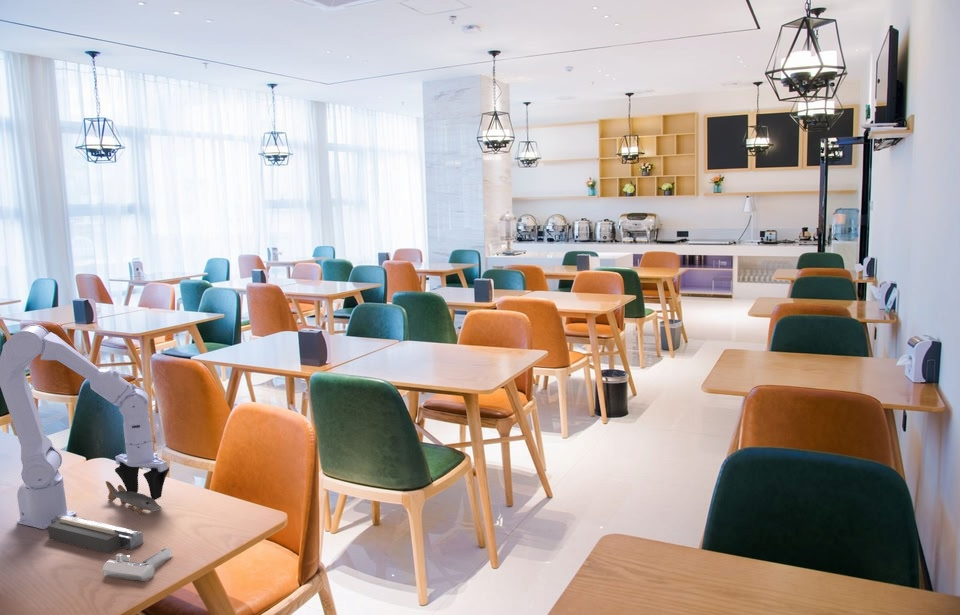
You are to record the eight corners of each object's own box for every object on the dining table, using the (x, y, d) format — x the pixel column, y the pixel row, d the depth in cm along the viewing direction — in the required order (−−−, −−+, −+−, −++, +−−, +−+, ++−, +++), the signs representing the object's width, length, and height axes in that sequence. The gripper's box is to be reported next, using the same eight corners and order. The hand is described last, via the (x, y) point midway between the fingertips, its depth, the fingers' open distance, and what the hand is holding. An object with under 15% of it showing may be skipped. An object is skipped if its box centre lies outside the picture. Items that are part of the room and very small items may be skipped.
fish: (152, 522, 155) (150, 501, 155) (98, 503, 166) (96, 483, 165) (170, 514, 159) (167, 493, 158) (116, 496, 170) (114, 477, 169)
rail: (52, 530, 152) (50, 517, 152) (65, 524, 155) (63, 512, 155) (131, 550, 143) (129, 536, 142) (143, 543, 145) (141, 529, 145)
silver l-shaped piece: (103, 579, 132) (142, 585, 130) (101, 557, 132) (141, 562, 129) (141, 555, 142) (179, 560, 139) (140, 534, 141) (177, 539, 139)
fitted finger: (49, 539, 149) (47, 522, 148) (61, 533, 151) (59, 516, 150) (108, 553, 141) (106, 536, 141) (120, 547, 144) (118, 530, 143)
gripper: (175, 438, 163) (181, 493, 165) (131, 432, 169) (137, 485, 171) (150, 448, 157) (156, 505, 159) (105, 441, 163) (111, 496, 165)
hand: (144, 495), depth 165 cm, fingers open, 7 cm apart
